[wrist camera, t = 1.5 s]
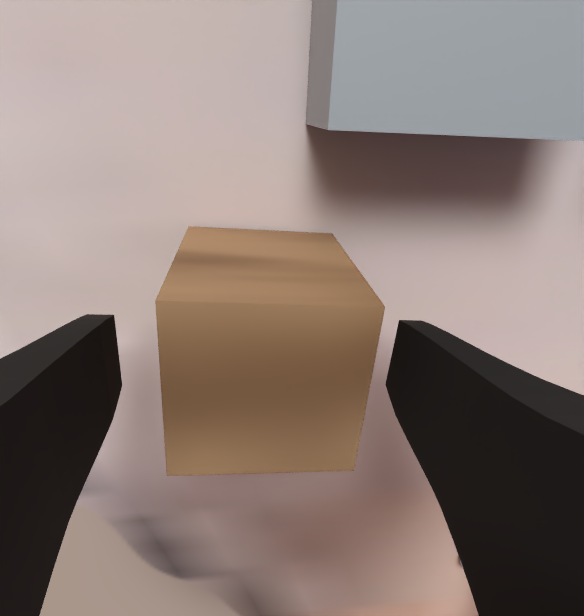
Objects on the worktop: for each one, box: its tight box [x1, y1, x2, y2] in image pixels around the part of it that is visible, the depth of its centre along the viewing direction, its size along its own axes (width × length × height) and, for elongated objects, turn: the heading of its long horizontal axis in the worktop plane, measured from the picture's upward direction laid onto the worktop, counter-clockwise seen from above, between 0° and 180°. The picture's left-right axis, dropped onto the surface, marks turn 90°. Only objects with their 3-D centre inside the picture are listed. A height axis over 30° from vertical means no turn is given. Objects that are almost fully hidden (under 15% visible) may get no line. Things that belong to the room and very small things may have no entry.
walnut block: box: [156, 227, 385, 476], centre depth 12 cm, size 4×4×6 cm
